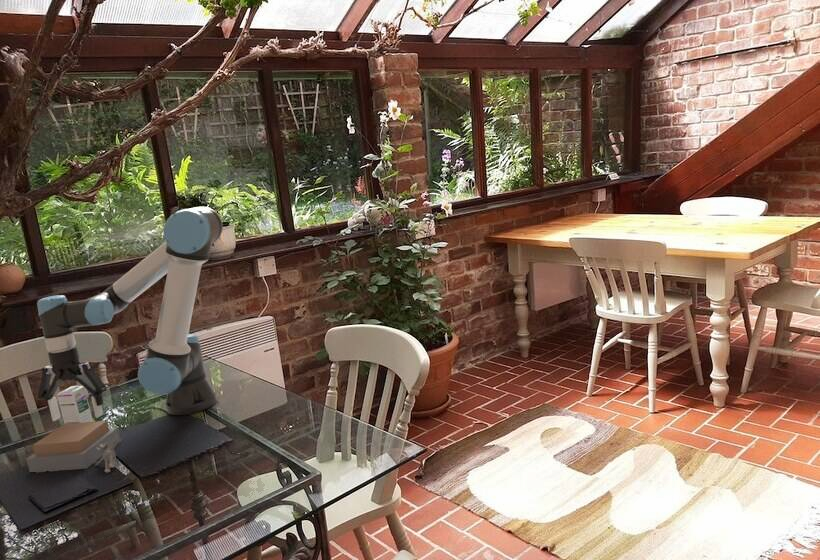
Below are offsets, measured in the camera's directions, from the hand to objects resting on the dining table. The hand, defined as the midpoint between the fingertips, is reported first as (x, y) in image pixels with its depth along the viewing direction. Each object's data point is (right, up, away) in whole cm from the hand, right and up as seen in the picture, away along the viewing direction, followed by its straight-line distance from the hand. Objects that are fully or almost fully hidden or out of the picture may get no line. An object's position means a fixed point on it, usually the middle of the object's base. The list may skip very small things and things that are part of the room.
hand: (78, 417), depth 185 cm
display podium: (+7, -7, -15) cm, 18 cm away
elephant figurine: (+21, -7, -23) cm, 32 cm away
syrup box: (+1, -5, +1) cm, 6 cm away
